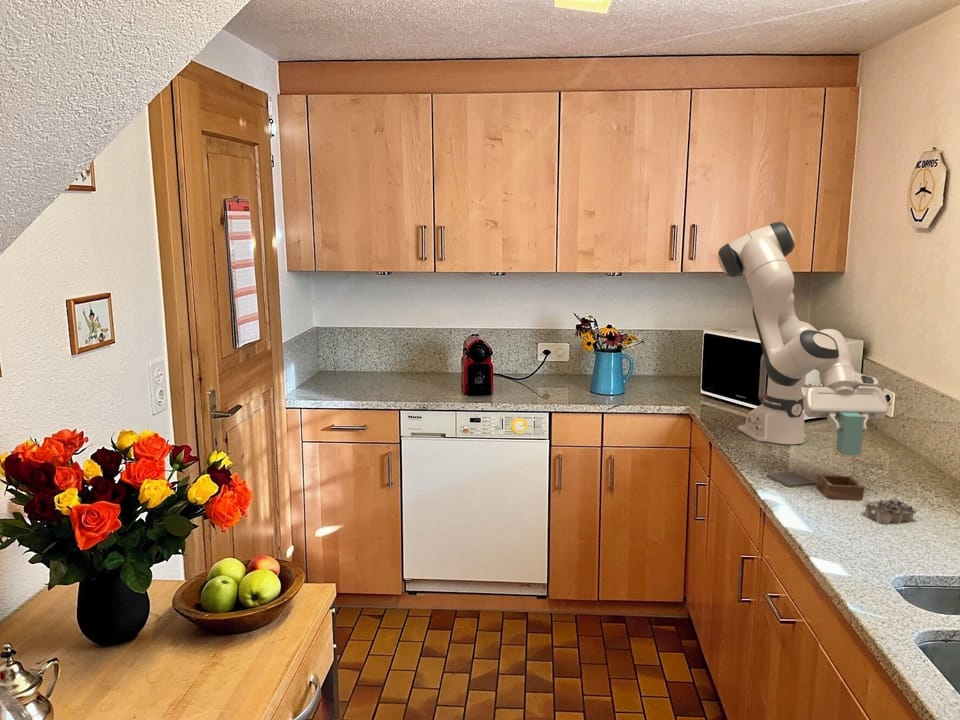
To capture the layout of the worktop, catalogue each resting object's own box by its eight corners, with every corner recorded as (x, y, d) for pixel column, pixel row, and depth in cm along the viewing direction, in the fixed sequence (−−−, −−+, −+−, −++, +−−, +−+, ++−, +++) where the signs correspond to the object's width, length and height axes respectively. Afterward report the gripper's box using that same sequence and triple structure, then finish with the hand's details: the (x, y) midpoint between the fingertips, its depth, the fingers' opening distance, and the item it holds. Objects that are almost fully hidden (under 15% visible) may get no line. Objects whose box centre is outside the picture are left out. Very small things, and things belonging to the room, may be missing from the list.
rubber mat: (766, 476, 210) (766, 474, 210) (793, 473, 213) (793, 471, 213) (788, 487, 202) (789, 485, 202) (816, 484, 205) (816, 482, 204)
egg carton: (881, 526, 178) (883, 509, 177) (858, 514, 185) (859, 498, 184) (919, 522, 180) (921, 506, 180) (895, 510, 187) (897, 495, 187)
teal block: (835, 449, 198) (839, 411, 196) (853, 450, 198) (857, 412, 196) (842, 454, 194) (845, 416, 192) (860, 455, 193) (864, 416, 191)
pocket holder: (816, 487, 202) (818, 474, 202) (849, 489, 201) (851, 476, 201) (828, 498, 194) (829, 485, 193) (862, 500, 193) (864, 487, 193)
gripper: (802, 377, 200) (812, 423, 192) (883, 378, 198) (897, 425, 191) (795, 390, 205) (805, 435, 197) (874, 391, 204) (887, 437, 196)
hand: (851, 430), depth 194 cm, fingers closed on teal block, 4 cm apart
